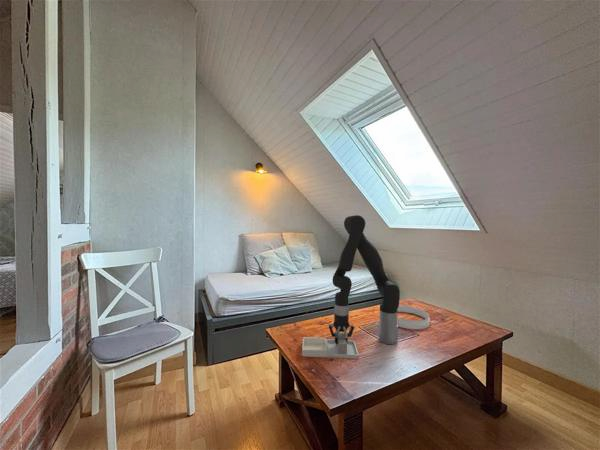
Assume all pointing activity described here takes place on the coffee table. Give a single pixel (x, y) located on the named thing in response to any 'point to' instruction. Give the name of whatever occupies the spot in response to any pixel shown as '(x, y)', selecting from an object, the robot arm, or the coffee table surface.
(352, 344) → the parts tray
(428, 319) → the white ring
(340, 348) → the light grey block
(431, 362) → the coffee table surface
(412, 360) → the coffee table surface
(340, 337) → the blue-grey block
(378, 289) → the robot arm
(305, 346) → the open box
